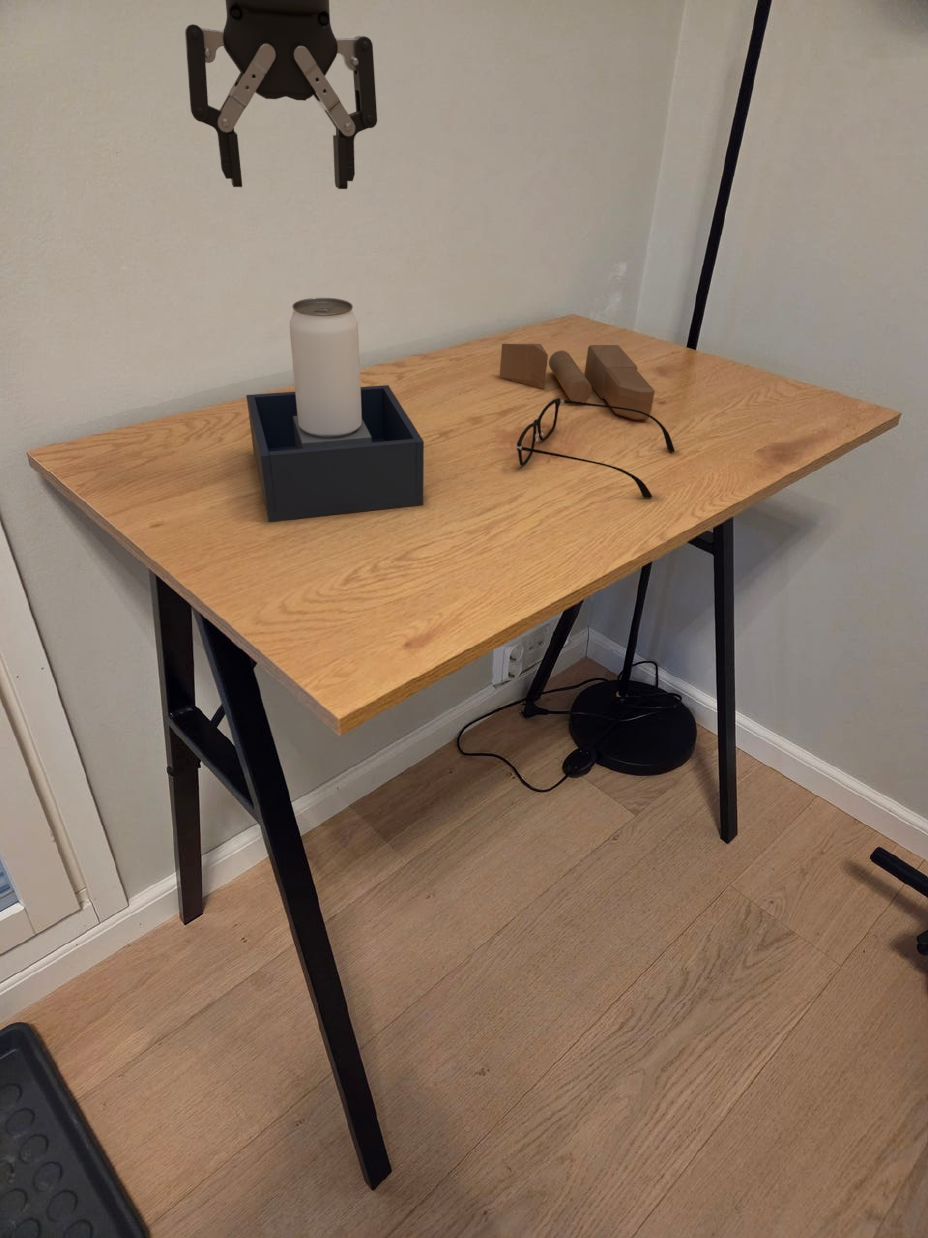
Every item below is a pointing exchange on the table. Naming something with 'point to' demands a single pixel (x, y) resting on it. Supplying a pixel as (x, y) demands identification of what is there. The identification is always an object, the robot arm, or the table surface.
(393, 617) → the table surface
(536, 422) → the eyeglasses
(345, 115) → the robot arm
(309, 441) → the grey block
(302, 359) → the can
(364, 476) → the crate
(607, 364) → the wooden block set
